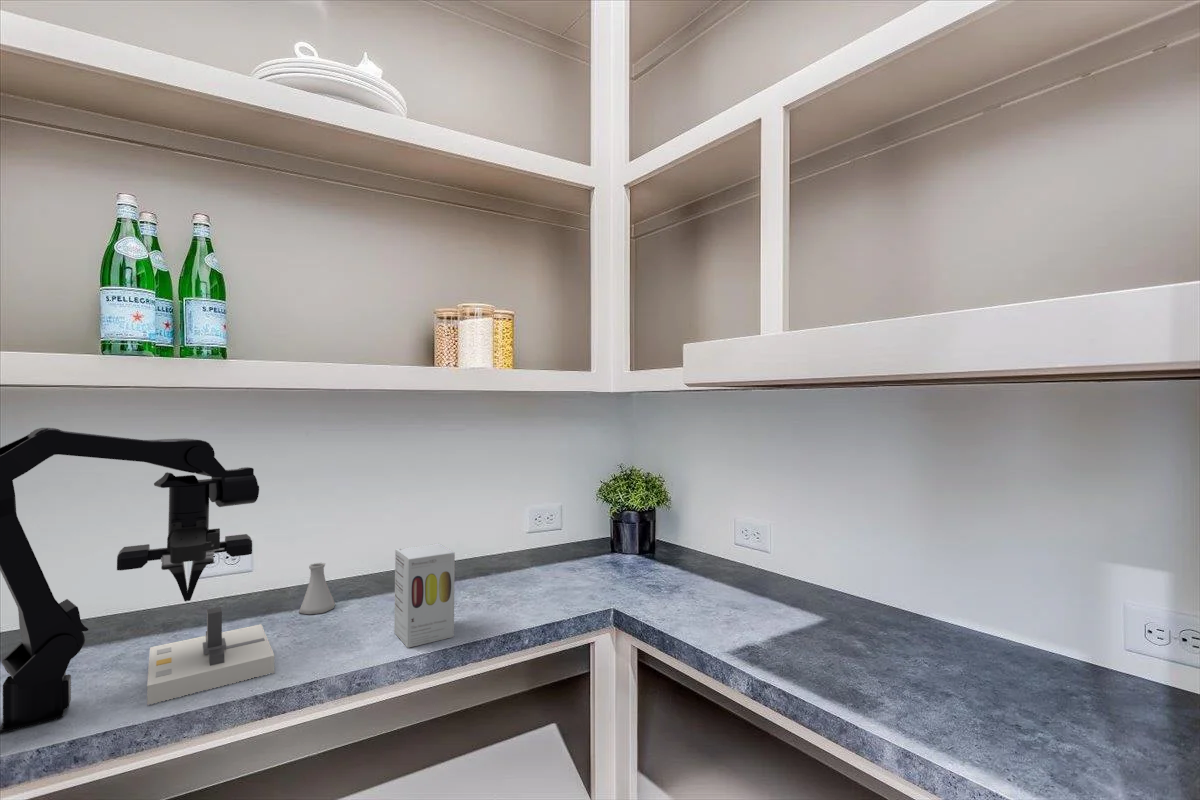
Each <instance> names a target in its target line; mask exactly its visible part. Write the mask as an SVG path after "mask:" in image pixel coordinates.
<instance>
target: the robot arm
mask: <svg viewBox="0 0 1200 800" xmlns="http://www.w3.org/2000/svg"><path fill="white" fill-rule="evenodd" d="M214 450H215V449H214V448H213V446H212V445H211V444H210V442H208V441H206V440H201V439H194V438H162V439H137V438H129V437H128V438H127V437H120V436H110V435H103V434H102V435H100V434H94V433H84V432H75V431H68V430H62V429H59V428H54V427H40V428H37V429H34V430H33V431H31V432H30V433H29V434H27V435H25V436H23V437H21V438H19V439H16V440H14V441H12V442H10V443H8V444H7V443H6V444H5V445H3V446H1V447H0V573H1V575H2V578H3V579H4V582H5V584H6V586H7V589H8V590H9V592H10V594H11V596H12V598H13V601H14V603H15V605H16V607H17V611H18V625H19V632H20V637H21V642H20V643H19V644H18V645H17V646H16V647H14V649H13V650H12V651H11V652H10V653H8V654H7V655H6V656H5V657H4V658H3V659H2V660H1V664H2V666H3V668H4V669H5V671H6V672H7V673H8V674H9V676H7V677H6V679H5V680H4V682H3V684H2V723H1V725H0V734H3V733H7V732H11V731H16V730H19V729H23V728H28V727H32V726H35V725H40V724H43V723H48V722H52V721H55V720H59V719H62V718H63V717H64V715H65V710H66V709H68V708H69V707H70V705H71V704H70V703H71V701H72V695H71V694H72V675H71V674H69V673H68V674H66V672H67V669H68V667H69V664H70V662H71V660H72V659H73V658H75V656H77V655H78V654H79V652H80V651H81V649H82V648H83V647H84V645H85V641H86V639H85V634H84V632H88V631H89V628H88V627H86V625H84V624H83V622H82V619H81V615H80V611H79V607H78V606H77V605H76V604H74V602H72V601H71V600H70V599H68V598H66V599H64V600H63V601H61V602H58V600H56V598H55V597H54V594H53V592H52V590H51V588H50V586H49V583H48V580H47V579H46V577H45V575H44V573H43V570H42V568H41V566H40V563H39V562H38V559H37V557H36V555H35V553H34V551H33V548H32V546H31V544H30V542H29V540H28V537H27V535H26V533H25V531H24V528H23V526H22V524H21V522H20V519H19V518H18V515H17V503H16V492H15V485H14V480H15V479H18V478H19V477H21V476H23V475H24V474H27V473H28V472H29V471H31V470H32V469H34V468H35V467H37V466H38V465H40V464H41V463H43V462H44V461H47V460H48V459H50V458H51V457H53V456H55V455H56V456H57V455H61V456H70V457H71V456H72V457H80V458H81V457H84V458H95V459H106V460H107V459H108V460H118V461H127V462H129V461H130V462H142V463H146V464H151V465H154V466H160V467H163V468H167V469H171V470H175V471H180V472H186V473H190V475H189V474H188V475H174V474H173V472H168V471H167V472H165V473H164V474H163V476H162V477H160V478H159V479H158V480H156V481H155V482H154V483H153V485H154V487H156V488H157V487H158V488H161V489H167V488H169V489H168V490H169V491H168V525H167V526H168V528H167V529H168V530H167V533H168V534H167V539H166V540H167V542H166V543H167V544H166V547H161V548H151V549H150V544H140V545H130V546H123V548H122V549H120V550H119V552H118V553H117V556H116V557H117V558H116V571H127V570H136V569H142V568H143V567H144V566H145V565H146V564H147V563H148V562H151V561H157V560H158V561H159V560H160V562H161V570H162V571H166V570H167V571H169V572H170V573H171V574H172V575H173V577H174V579H175V581H176V582H177V585H178V588H179V590H180V594H181V596H182V599H183V601H184V602H190V601H191V600H192V597H193V594H194V592H195V589H196V586H197V583H198V581H199V579H200V577H201V575H202V573H203V571H204V570H205V568H206V566H208V565H213V564H214V562H215V560H214V556H215V554H218V553H226V554H227V555H228V556H230V557H232V558H233V557H241V556H249V555H252V554H253V540H252V538H251V536H250V535H248V534H247V533H245V534H234V535H233V534H232V535H227V536H226V535H225V537H224V541H221V529H220V528H211V529H210V528H209V527H210V525H209V524H210V518H209V516H210V502H211V503H215V505H216V506H217V507H218V508H224V507H230V506H240V505H247V504H254V503H256V502H257V501H258V498H259V496H260V495H259V494H260V485H259V483H258V480H257V477H256V475H255V474H254V468H253V467H248V466H246V467H239V468H234V469H232V468H231V469H225V467H224V466H223V465H222V464H221V463H220V462H219V460H217V457H215V454H216V453H215V451H214ZM191 474H192V475H191ZM194 474H197V475H200V476H206V477H211V478H208V479H206V478H204V479H198V478H197V476H195V475H194ZM186 562H191V563H192V564H191V569H190V574H189V578H188V579H189V580H188V585H187V578H186V577H187V576H186V570H185V563H186Z"/></svg>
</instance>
